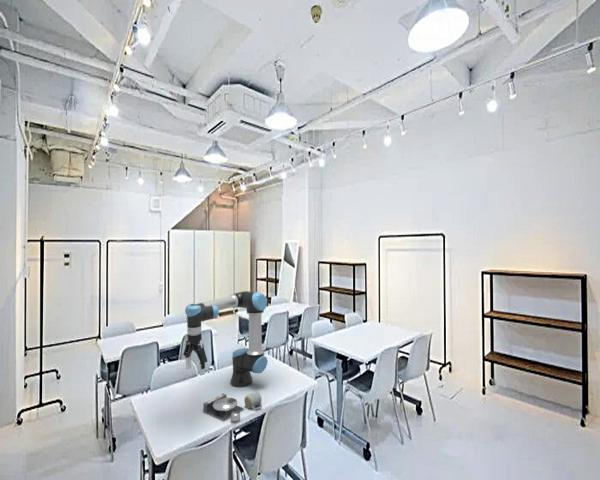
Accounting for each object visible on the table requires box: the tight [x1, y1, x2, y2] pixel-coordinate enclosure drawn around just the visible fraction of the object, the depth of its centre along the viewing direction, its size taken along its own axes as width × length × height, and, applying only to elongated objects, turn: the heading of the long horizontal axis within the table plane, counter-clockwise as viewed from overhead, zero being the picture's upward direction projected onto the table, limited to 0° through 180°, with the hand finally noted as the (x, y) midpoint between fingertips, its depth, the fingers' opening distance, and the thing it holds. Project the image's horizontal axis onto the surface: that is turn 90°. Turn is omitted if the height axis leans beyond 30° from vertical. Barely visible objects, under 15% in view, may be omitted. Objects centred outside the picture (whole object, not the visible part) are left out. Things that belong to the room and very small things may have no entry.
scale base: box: [202, 393, 245, 422], centre depth 193 cm, size 15×18×5 cm
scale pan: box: [213, 397, 238, 411], centre depth 192 cm, size 14×14×3 cm
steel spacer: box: [230, 411, 241, 424], centre depth 183 cm, size 5×5×4 cm
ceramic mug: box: [244, 390, 263, 411], centre depth 197 cm, size 11×8×8 cm
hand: (195, 371), depth 184 cm, fingers open, 13 cm apart
